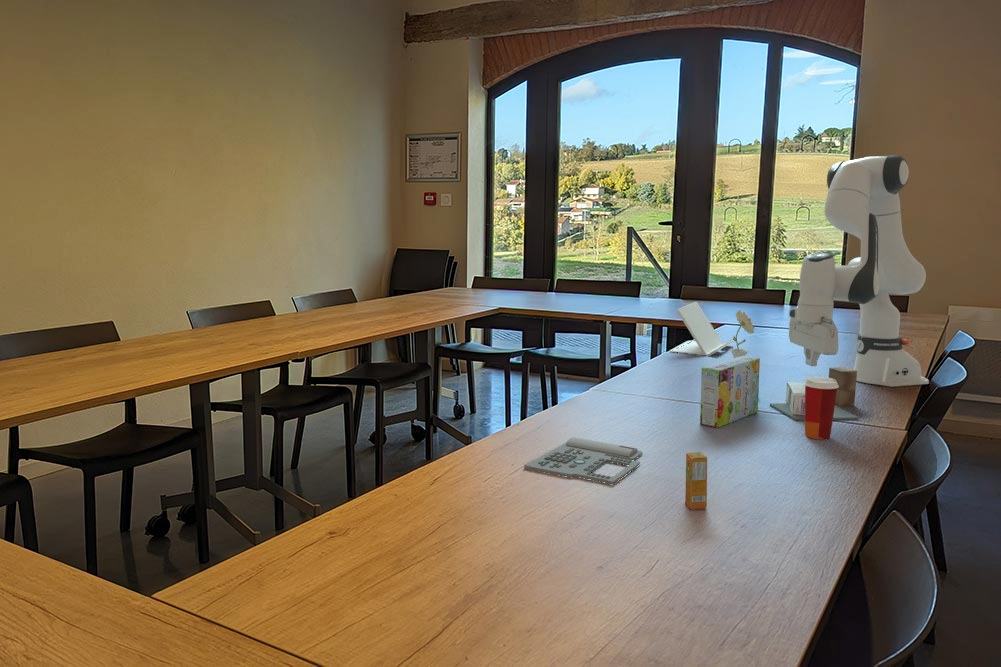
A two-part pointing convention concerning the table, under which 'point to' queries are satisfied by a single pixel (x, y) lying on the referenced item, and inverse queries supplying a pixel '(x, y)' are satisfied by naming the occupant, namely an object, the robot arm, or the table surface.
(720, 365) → the snack box
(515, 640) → the table surface
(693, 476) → the supplement box
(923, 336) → the table surface
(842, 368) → the walnut block
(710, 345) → the tablet stand
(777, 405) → the mat
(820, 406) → the paper cup
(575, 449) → the office telephone
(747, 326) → the flower in vase
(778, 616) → the table surface
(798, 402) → the syrup box
